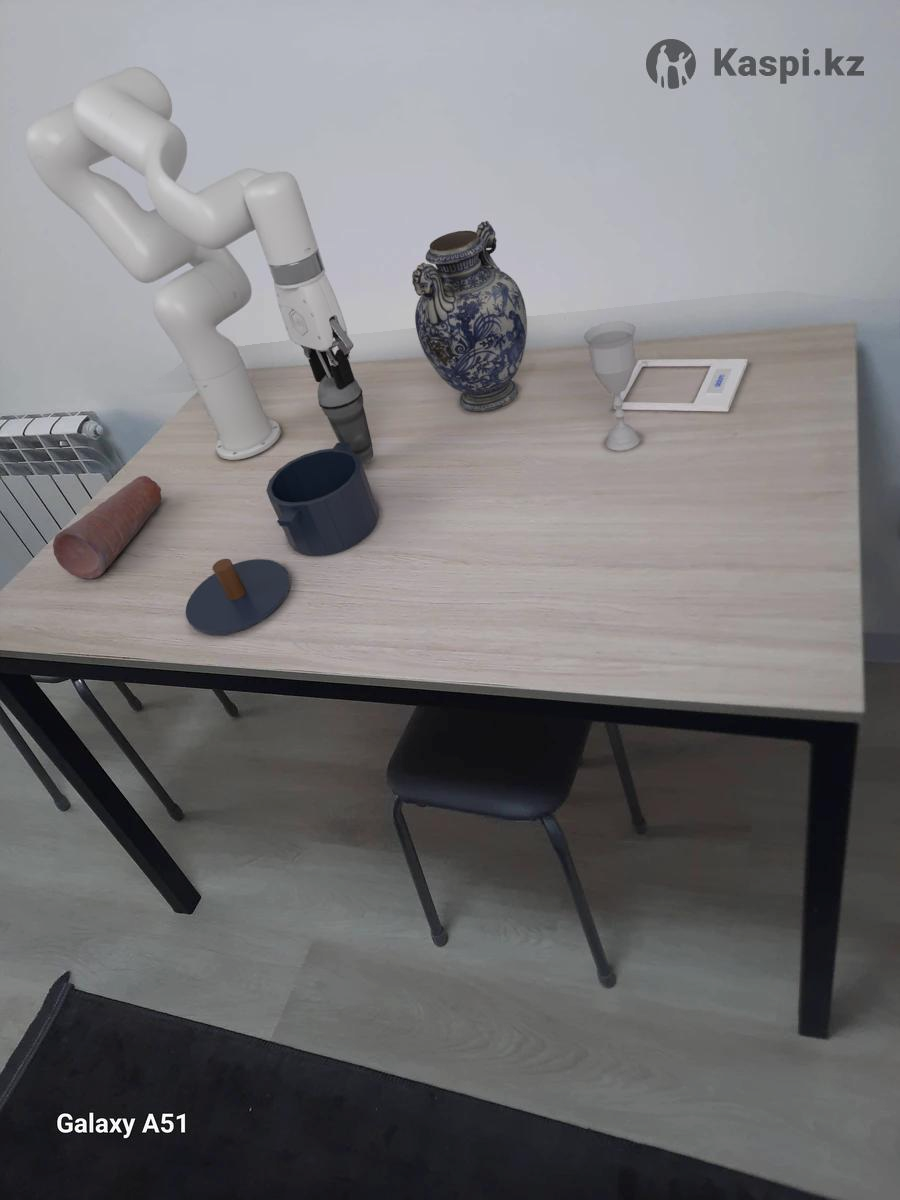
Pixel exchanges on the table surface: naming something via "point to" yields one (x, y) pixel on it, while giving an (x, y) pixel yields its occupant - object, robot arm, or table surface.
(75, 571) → the food
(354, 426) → the beverage cup
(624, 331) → the chalice
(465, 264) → the decorative vase
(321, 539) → the pot
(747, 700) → the table surface
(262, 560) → the lid
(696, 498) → the table surface
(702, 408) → the photo frame
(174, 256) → the robot arm
